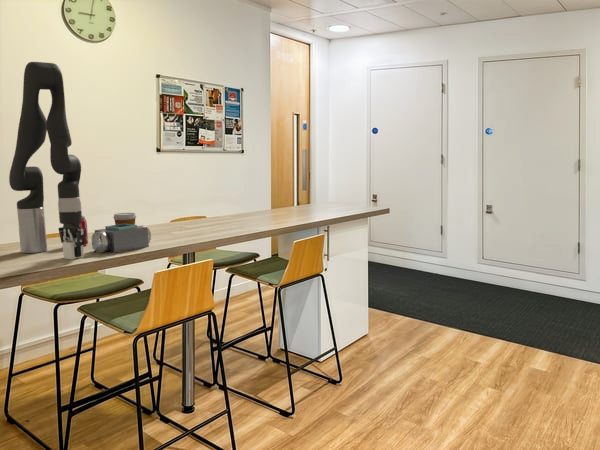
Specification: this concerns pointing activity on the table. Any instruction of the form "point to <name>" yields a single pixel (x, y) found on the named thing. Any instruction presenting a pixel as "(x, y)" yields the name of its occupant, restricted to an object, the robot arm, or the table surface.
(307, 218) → the table surface
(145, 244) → the motor
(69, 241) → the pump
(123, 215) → the disposable coffee cup
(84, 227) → the soda can
